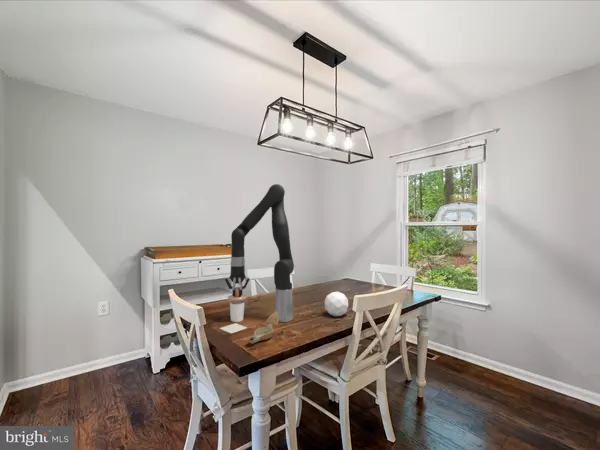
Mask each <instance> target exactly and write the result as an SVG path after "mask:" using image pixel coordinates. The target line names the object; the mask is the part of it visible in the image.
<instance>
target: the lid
mask: <svg viewBox="0 0 600 450" xmlns="http://www.w3.org/2000/svg"><path fill="white" fill-rule="evenodd" d="M239 290H240V287H239V286H235V297H234V296H233V295H232V294H230V295H229V296H227V300H229V301H239V300H242V301H244V300H246V299H247V298H248V297H247V295H246V294H242V296H241V297H239Z"/></svg>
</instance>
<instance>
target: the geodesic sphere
mask: <svg viewBox="0 0 600 450" xmlns="http://www.w3.org/2000/svg"><path fill="white" fill-rule="evenodd" d="M323 302H324V309H325V311H327V313H328V314H329V315H331V316H333V317H340V316H343V315H344V314H346V313H347V310H348V308H349V299H348V298H347V296H346V295H345V293H342V291H334V292H333V291H331V292H330V293H329V294H327V295H326V297H325V299H324V301H323Z"/></svg>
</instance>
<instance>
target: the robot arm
mask: <svg viewBox="0 0 600 450" xmlns="http://www.w3.org/2000/svg"><path fill="white" fill-rule="evenodd" d="M285 193H286V190H285V188H284V187H283V185H281V184H276V183H275V184H272V185H271V186H270V187H269V189H268V190H267V192H266V193H265V195H264V196H263V198H262V199H261V200H260V201H259V203H258V204H257V205H256V206H255V207H254V208H253V209H252V210H251V211H250V212H249V213H248V214H247V215H246V216H245V218H243V220H242V221H241V223H240V224H239V225H237V226H236V228H234V230H232V232H231V253H230V254H231V255H230V256H231V257H230V275H229V277H226V278H225V279H224V280H225V283H226V286H227V287H228V289H229V290H232V291H231V292H232V293H231V295H233V296H234V297H235V287H236V285H237V284H238V287H240V290H239V297H241V296H242V295H243V290H245V289H246V288H247V285H248V284H249V281H250V279H251V278H250V277H246V274H245V270H246V268H245V266H246V265H245V263H246V260H245V258H246V257H245V237H246V236H247V235H248V234H249V233H250V231H251V230H253V229H254V228H255V227H256V226H257V225H258V223H259V222H260V221H261V220H262V219H263V217H264V216H265V215H266V214H267V212H268V211H269V210H270V209H271V230H272V231H271V232H272V238H273V241H274V243H275V245H276V247H277V250H278V256H279V257H278V258H279V260H278V261H277V262H276V263H275V264H274V267H273V278H274V285H275V302H274V303H275V306H274V307H275V309H274V312H275V311H277V314H278V323H279V322H281V323H288V322H291V321H293V320H294V302H293V283H292V282H291V274H292V273H294V269H295V264H294V259H293V255H292V250H291V240H290V230H289V223H288V218H287V216H286V212H285V211H286V210H285V202H284V200H285ZM230 281H231V282H232V284H231V282H230ZM244 281H245V283H244V285H243V282H244Z"/></svg>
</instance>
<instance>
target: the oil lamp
mask: <svg viewBox="0 0 600 450" xmlns="http://www.w3.org/2000/svg"><path fill="white" fill-rule="evenodd" d="M264 323H265V324H267V326H263V327H259V328H256V329H255V330H254V332H253V334H254V335H251V336H249V337H248V340H247V341H248V342H249V343H250V344H255V343H257V342H260V341H265V340H266V341H267V340H269V339H271V338H272V337H273V334H274V333H275V330H274V326H278V324H279V321H278V314H277V311H275V310H274V312H273V313H272V314H271V315H269V317H268V318H267V319H266V321H265V322H264Z"/></svg>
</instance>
